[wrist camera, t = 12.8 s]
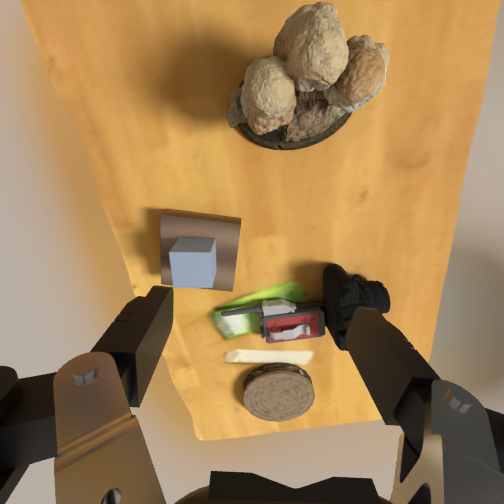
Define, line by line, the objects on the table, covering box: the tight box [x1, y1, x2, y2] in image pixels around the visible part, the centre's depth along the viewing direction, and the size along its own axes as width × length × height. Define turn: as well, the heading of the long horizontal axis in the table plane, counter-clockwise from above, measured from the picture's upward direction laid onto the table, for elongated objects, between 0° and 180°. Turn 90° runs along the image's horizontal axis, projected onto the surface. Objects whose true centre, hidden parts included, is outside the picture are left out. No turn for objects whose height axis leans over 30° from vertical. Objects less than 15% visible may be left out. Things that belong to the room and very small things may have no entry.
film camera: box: [323, 264, 390, 351], centre depth 42 cm, size 15×10×9 cm, turn 7°
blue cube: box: [169, 238, 217, 288], centre depth 36 cm, size 6×6×6 cm
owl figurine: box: [226, 2, 390, 150], centre depth 26 cm, size 18×12×17 cm, turn 104°
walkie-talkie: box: [221, 299, 326, 343], centre depth 46 cm, size 9×4×20 cm
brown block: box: [160, 209, 241, 292], centre depth 40 cm, size 12×12×4 cm
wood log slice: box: [243, 362, 315, 422], centre depth 55 cm, size 16×16×3 cm
